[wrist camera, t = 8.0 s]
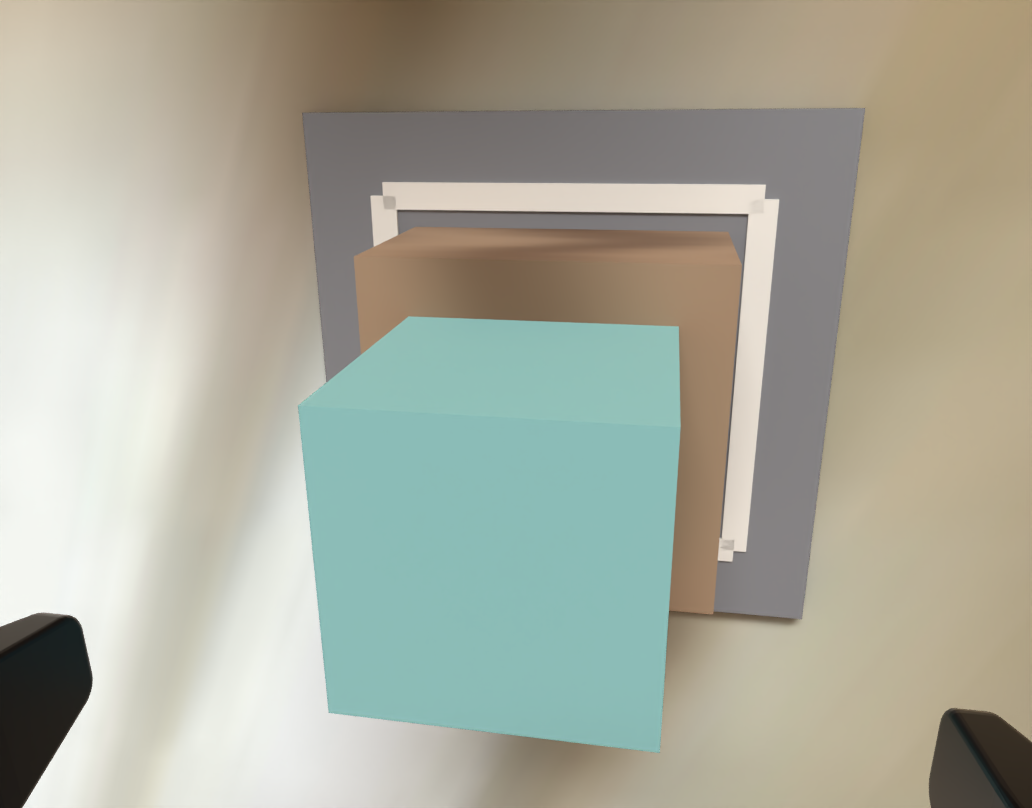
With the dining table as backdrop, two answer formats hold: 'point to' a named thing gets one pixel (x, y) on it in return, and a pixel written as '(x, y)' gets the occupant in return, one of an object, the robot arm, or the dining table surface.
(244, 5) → the dining table surface
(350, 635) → the teal cube
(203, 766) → the dining table surface
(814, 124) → the mat
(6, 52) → the dining table surface
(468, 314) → the walnut block
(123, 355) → the dining table surface
